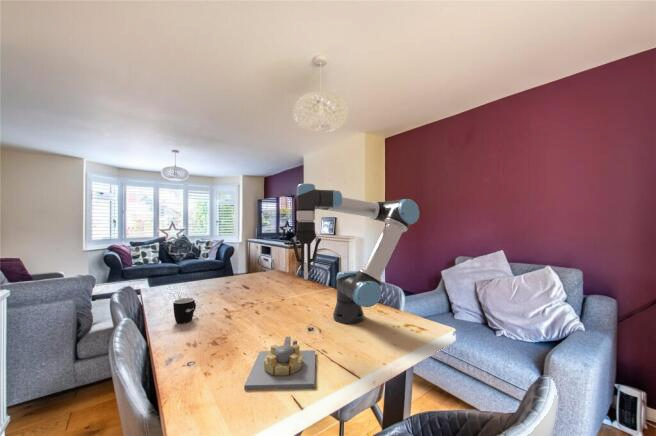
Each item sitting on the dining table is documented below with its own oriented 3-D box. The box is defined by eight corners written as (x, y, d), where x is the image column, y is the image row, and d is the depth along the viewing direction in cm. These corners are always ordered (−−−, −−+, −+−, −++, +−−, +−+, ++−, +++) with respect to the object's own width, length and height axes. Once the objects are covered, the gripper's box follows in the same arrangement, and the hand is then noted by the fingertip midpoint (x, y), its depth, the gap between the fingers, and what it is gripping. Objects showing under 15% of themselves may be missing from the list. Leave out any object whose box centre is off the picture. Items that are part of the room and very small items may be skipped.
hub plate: (315, 353, 97) (315, 335, 97) (314, 387, 77) (314, 365, 77) (259, 354, 97) (259, 336, 97) (244, 389, 77) (244, 367, 77)
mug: (185, 325, 123) (185, 303, 123) (168, 324, 125) (168, 302, 125) (202, 316, 135) (202, 296, 135) (187, 315, 137) (187, 295, 137)
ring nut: (301, 374, 81) (301, 360, 81) (261, 376, 81) (261, 361, 81) (304, 344, 101) (304, 332, 101) (272, 345, 101) (272, 333, 101)
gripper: (321, 221, 115) (321, 276, 114) (290, 221, 114) (290, 276, 114) (321, 221, 107) (321, 280, 107) (288, 221, 107) (289, 280, 106)
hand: (305, 278), depth 110 cm, fingers closed
